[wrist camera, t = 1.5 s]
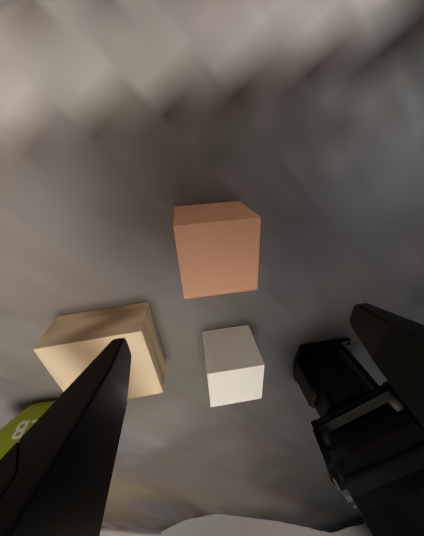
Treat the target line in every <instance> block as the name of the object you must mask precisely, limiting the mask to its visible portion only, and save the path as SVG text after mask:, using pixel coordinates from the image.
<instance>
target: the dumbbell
mask: <svg viewBox="0 0 424 536" xmlns="http://www.w3.org/2000/svg"><path fill="white" fill-rule="evenodd" d="M55 401H56V400H53V401H45V402H39V403H35V404H32V405H30V406H29V407H27V408H26V409H24V410H23V411H22V412H21V413H19V414H18V415H17V416H16V417H15V418H14V419H12V420H11V421H10V422H9V423H8V424H7V425H6V426H4V427H3V428H2V429H1V430H0V459H1V458H2V457H3V456H4V455H5V454H6V453H7V452H8V451H9V450H10V448H11V447H12V446H13V445H14V444H15V443H16V442H19V439H20V438H21V437H22V436H23V435H24V434H25V433H26V432H27V430H28V429H29V428H30V427H31V426H32V425H33V424H34V423H35V422H36V421H37V420H38V419H39V418H40V417H41V416H42V414H43V413H44V412H45V411H46V410H47V409H48V408H49V407H50V406H51V405H52V404H53V403H54V402H55Z"/></svg>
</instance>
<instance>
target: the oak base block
mask: <svg viewBox="0 0 424 536" xmlns="http://www.w3.org/2000/svg"><path fill="white" fill-rule="evenodd" d="M118 338H125V339H126V341H127V343H128V346H129V349H130V352H131V368H130V378H129V388H128V398H127V399H132V398H137V397H142V396H147V395H153V394H158V393H163V385H164V370H165V357H164V354H163V351H162V347H161V344H160V341H159V337H158V334H157V331H156V328H155V324H154V321H153V318H152V314H151V311H150V308H149V305H148V302H144V303H137V304H131V305H125V306H119V307H112V308H106V309H100V310H94V311H88V312H81V313H75V314H69V315H63V316H57V318H56V319H55V320H54V322H53V323H52V324H51V326H50V327H49V328H48V330H47V331H46V332H45V334H44V335H43V337H42V338H41V339H40V341H39V342H38V343H37V345H36V346H35V347H34V349H33V350H34V352H35V353H36V354H37V356H38V357H39V359H40V360H41V361H42V363H43V364H44V365H45V367H46V368H47V370H48V371H49V372H50V374H51V375H52V377H53V378H54V379H55V381H56V382H57V383H58V385H59V386H60V388H61V389H62V390H63V392H64V391H65V390H66V389H67V388H68V387H69V386H70V385H71V384H72V382H73V381H74V380H75V379H76V378H77V377H78V376H79V375H80V374H81V373H82V372H83V371H84V370H85V369H86V368H87V366H88V365H89V364H90V363H91V362H92V361H93V360H94V359H95V358H96V357H97V356H98V355H99V354H100V353H101V352H102V350H103V349H104V348H105V347H106V346H107V345H108V344H109V343H110V342H111V341H112V340H113V339H118Z"/></svg>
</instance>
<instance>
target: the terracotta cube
mask: <svg viewBox="0 0 424 536" xmlns="http://www.w3.org/2000/svg"><path fill="white" fill-rule="evenodd" d="M260 227H261V217H260V216H259V215H257V214H256V213H255V212H254V211H252V210H251V209H250V208H248V207H247V206H246V205H245V204H243V203H242V202H241V201H230V202H219V203H208V204H197V205H186V206H175V207H174V221H173V228H174V235H175V242H176V248H177V255H178V262H179V268H180V275H181V282H182V288H183V295H184V299H189V298H197V297H205V296H212V295H220V294H228V293H235V292H243V291H251V290H257V286H258V266H259V247H260Z"/></svg>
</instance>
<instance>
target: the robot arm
mask: <svg viewBox="0 0 424 536" xmlns="http://www.w3.org/2000/svg"><path fill="white" fill-rule="evenodd" d="M350 325H351V327H352V328H353V330H354V332H355V333H356V335H357V336H358V338H359V340H360V341H361V343H362V344H363V346H364V348H365V349H366V351H367V352H368V354H369V355H370V357H371V358H372V360H373V361H374V363H375V364H376V366H377V367H378V368H379V370H380V371H381V372H382V373H383V375H384V376H385V377H386V379H387V380H388V381H389V382H388V381H386V382H384V383H383V385H381V386H379V385H378V384H377V383H376V382H375V380H374V379H373V378H372V377H371V376H370V375H369V373H368V372H367V371H366V370H365V369H364V368H363V366H362V365H361V364H360V363H359V362H358V361H357V360H356V358H355V357H354V356H353V355H352V354H351V353H350V348H351V346H352V341H351V340H350V339H349V338H346V339H340V340H333V341H327V342H321V343H314V344H308V345H303V346H301V347H300V348H299V353H298V358H297V362H296V366H295V371H294V380H295V382H298V384H299V386H300V388H301V390H302V392H303V394H304V396H305V398H306V400H307V402H308V404H309V406H310V407H312V408H316V410H317V412H318V414H319V416H320V418H319V419H318V420H316V419H315V420H313V421H311V424H312V426H313V432H314V434H315V437H316V439H317V442H318V444H319V447H320V450H321V452H322V455H323V457H324V460H325V463H326V466H327V470H328V474H329V477H330V480H331V482H332V484H333V485H334V486H335V487H336V488H338V489H339V490H340V491H341V492H342V494H343V495H344V497H345V498H346V500H347V501H348V502H349V504H350V505H351V506H352V507H353V508H358V510H359V512H360V513H361V515H362V517H363V519H364V520H365V522H366V524H367V526H368V527H369V529H370V531H371V533H372V535H373V536H424V325H422V324H419V323H417V322H414V321H411V320H409V319H406V318H404V317H401V316H398V315H396V314H393V313H391V312H388V311H386V310H383V309H380V308H378V307H375V306H373V305H370V304H367V303H362V304H356V305H355V306H354V308H353V311H352V314H351V317H350ZM130 368H131V352H130V349H129V346H128V343H127V341H126V339H125V338H118V339H113V340H112V341H111V342H110V343H109V344H108V345H107V346H106V347H105V348H104V349H103V350H102V352H101V353H100V354H99V355H98V356H97V357H96V358H95V359H94V360H93V361H92V362H91V363H90V364H89V365H88V366H87V368H86V369H85V370H84V371H83V372H82V373H81V374H80V375H79V376H78V377H77V378H76V379H75V380H74V381H73V382H72V384H71V385H70V386H69V387H68V388H67V389H66V390H65V391H64V392H63V393H62V394H61V395H60V396H59V397H58V398H57V400H56V401H55V402H54V403H53V404H52V405H51V406H50V407H49V408H48V409H47V410H46V411H45V412H44V413H43V414H42V416H41V417H40V418H39V419H38V420H37V421H36V422H35V423H34V424H33V425H32V426H31V427H30V428H29V429H28V430H27V432H26V433H25V434H24V435H23V436H22V437H21V438H20V439H19V442H16V443H15V444H14V445H13V446H12V447H11V448H10V450H9V451H8V452H7V453H6V454H5V455H4V456H3V457H2V458H1V459H0V536H99V534H100V530H101V525H102V520H103V515H104V510H105V506H106V501H107V496H108V491H109V487H110V482H111V477H112V472H113V467H114V463H115V458H116V453H117V448H118V443H119V439H120V434H121V429H122V424H123V420H124V415H125V410H126V405H127V398H128V388H129V378H130ZM398 408H401V411H399V412H397V411H396V409H398Z"/></svg>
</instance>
